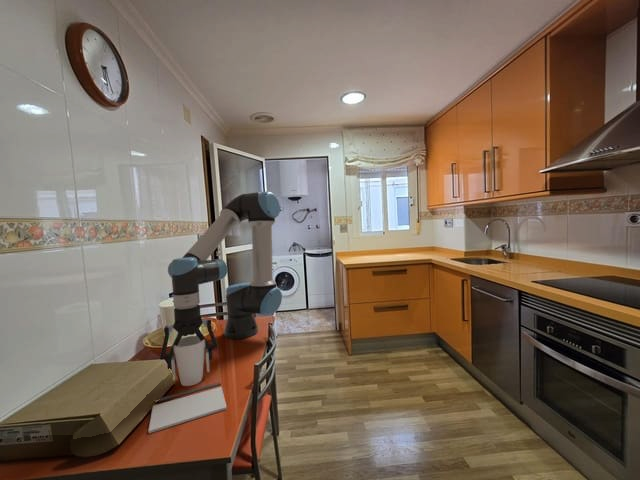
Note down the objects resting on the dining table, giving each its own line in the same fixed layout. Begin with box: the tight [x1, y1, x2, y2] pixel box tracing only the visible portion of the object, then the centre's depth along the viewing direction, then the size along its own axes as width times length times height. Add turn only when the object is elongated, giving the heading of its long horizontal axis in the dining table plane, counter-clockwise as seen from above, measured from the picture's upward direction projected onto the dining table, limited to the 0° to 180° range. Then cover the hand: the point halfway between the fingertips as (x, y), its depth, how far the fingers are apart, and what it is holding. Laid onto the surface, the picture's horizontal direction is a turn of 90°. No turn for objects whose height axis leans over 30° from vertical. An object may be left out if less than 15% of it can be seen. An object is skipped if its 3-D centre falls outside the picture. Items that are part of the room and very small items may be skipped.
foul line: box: [159, 381, 222, 403], centre depth 83 cm, size 18×1×1 cm, turn 116°
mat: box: [148, 386, 227, 434], centre depth 76 cm, size 18×11×1 cm, turn 116°
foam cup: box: [173, 334, 206, 387], centre depth 90 cm, size 10×9×13 cm
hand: (191, 374), depth 90 cm, fingers closed on foam cup, 9 cm apart
